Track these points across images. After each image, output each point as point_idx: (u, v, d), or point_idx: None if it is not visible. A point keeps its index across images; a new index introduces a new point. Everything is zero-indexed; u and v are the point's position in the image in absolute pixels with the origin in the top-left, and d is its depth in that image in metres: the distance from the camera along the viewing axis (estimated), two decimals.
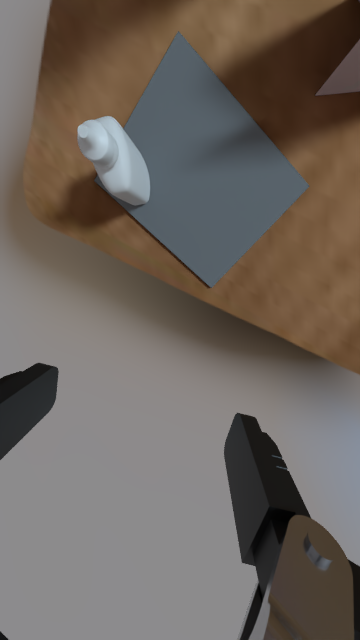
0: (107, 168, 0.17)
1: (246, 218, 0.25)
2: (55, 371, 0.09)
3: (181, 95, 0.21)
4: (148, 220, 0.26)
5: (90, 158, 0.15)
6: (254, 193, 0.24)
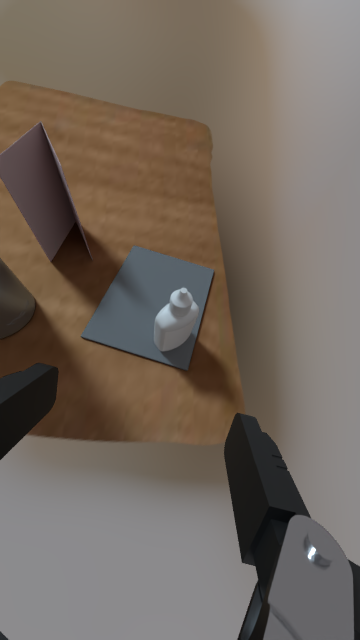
0: None
1: (163, 266, 0.37)
2: (55, 371, 0.09)
3: (112, 323, 0.31)
4: None
5: (192, 298, 0.22)
6: (148, 267, 0.37)
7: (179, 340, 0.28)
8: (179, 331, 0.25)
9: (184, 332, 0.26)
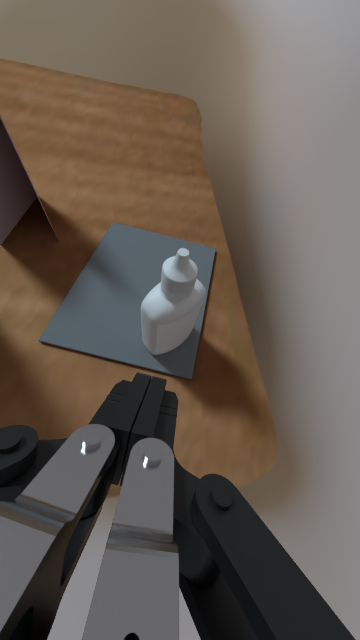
0: None
1: (151, 246, 0.29)
2: (150, 379, 0.10)
3: (85, 320, 0.22)
4: None
5: (196, 267, 0.14)
6: (132, 247, 0.28)
7: (178, 338, 0.19)
8: (178, 324, 0.16)
9: (185, 325, 0.18)
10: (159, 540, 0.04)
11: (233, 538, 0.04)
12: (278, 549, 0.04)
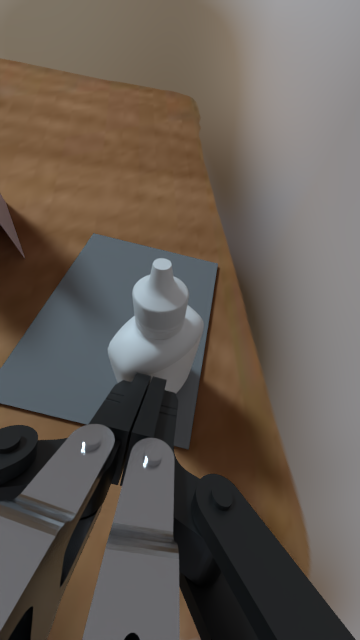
0: None
1: (139, 262, 0.24)
2: (150, 379, 0.10)
3: (47, 366, 0.17)
4: None
5: (186, 289, 0.09)
6: (116, 265, 0.23)
7: (169, 389, 0.14)
8: (165, 373, 0.11)
9: (177, 373, 0.12)
10: (160, 540, 0.04)
11: (233, 538, 0.04)
12: (278, 549, 0.04)
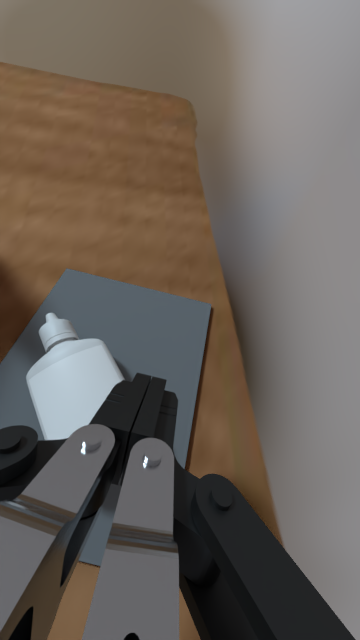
0: (78, 339, 0.16)
1: (119, 305, 0.20)
2: (150, 379, 0.10)
3: None
4: (179, 426, 0.16)
5: (65, 319, 0.17)
6: (90, 310, 0.20)
7: (83, 415, 0.12)
8: (56, 373, 0.13)
9: (77, 381, 0.13)
10: (160, 540, 0.04)
11: (233, 538, 0.04)
12: (278, 548, 0.04)
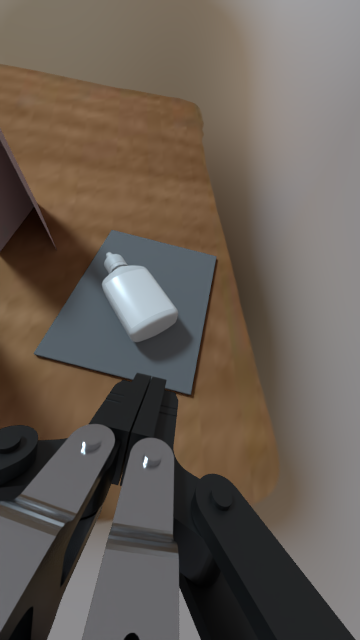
0: None
1: (151, 254, 0.29)
2: (150, 379, 0.10)
3: (81, 332, 0.22)
4: (195, 324, 0.24)
5: (120, 256, 0.25)
6: (131, 256, 0.28)
7: (141, 300, 0.21)
8: (122, 279, 0.22)
9: (135, 284, 0.22)
10: (160, 540, 0.04)
11: (233, 538, 0.04)
12: (277, 549, 0.04)
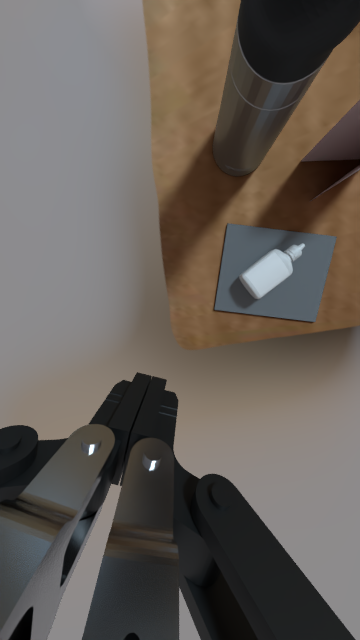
0: (291, 262, 0.36)
1: (311, 273, 0.38)
2: (150, 379, 0.10)
3: (242, 244, 0.38)
4: (255, 309, 0.40)
5: (301, 254, 0.36)
6: (307, 259, 0.38)
7: (263, 277, 0.35)
8: (277, 262, 0.35)
9: (274, 271, 0.35)
10: (160, 540, 0.04)
11: (233, 538, 0.04)
12: (278, 549, 0.04)
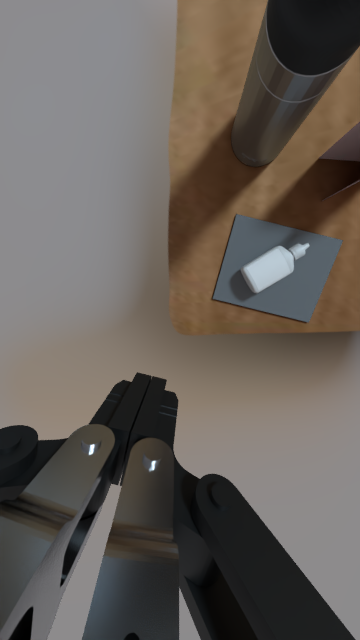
0: None
1: (312, 274, 0.39)
2: (150, 379, 0.10)
3: (248, 237, 0.38)
4: (252, 303, 0.41)
5: (304, 253, 0.36)
6: (311, 259, 0.38)
7: (263, 272, 0.36)
8: (279, 259, 0.35)
9: (276, 267, 0.36)
10: (160, 540, 0.04)
11: (233, 538, 0.04)
12: (277, 549, 0.04)
